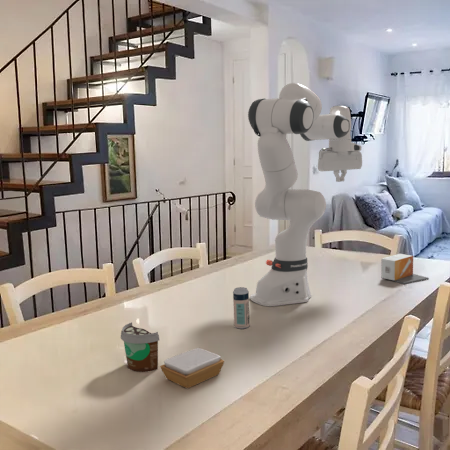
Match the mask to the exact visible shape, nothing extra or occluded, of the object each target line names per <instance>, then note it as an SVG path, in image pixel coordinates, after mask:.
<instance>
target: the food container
mask: <svg viewBox="0 0 450 450" xmlns="http://www.w3.org/2000/svg"><path fill="white" fill-rule="evenodd" d="M121 329H122V330H121V332H120V339H121V341H123V344H124V352H125V359H126V364H127V369H129V370H130V371H132V372H136V373H146V372H147V373H148V372H153V371H156V370H158V369H159V366H158V365H159V363H158V361H159V341H160V335H159V331H155V332H149V330H147V329H145V328H141V327H136V326H133V322H129V323H127V324H125V325H124V326H123V327H122V328H121Z"/></svg>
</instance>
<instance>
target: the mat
mask: <svg viewBox="0 0 450 450" xmlns="http://www.w3.org/2000/svg"><path fill="white" fill-rule="evenodd" d="M383 279H385V278H383ZM426 279H427V280H429V279H430V278H429V277H428V276H423V275H418V274H415V273H413V275H410V276H407V277H404V278H401V279H398V280H390V279H387V280H389V281H392V282H395V283H398V284H403V285H407V284H412V282H413V283H417V282H416V281H418V282H421V280H422V281H427V280H426ZM385 280H386V279H385Z"/></svg>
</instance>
